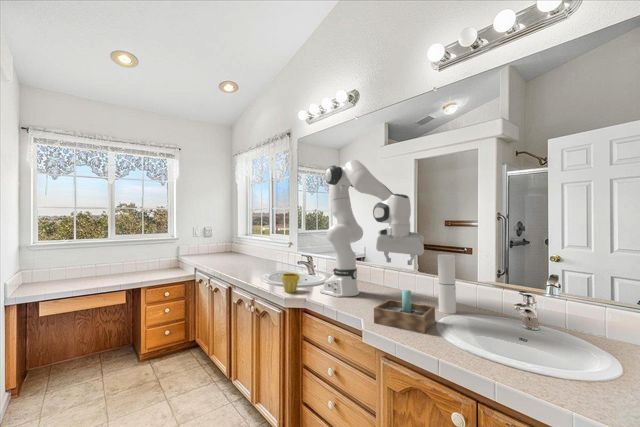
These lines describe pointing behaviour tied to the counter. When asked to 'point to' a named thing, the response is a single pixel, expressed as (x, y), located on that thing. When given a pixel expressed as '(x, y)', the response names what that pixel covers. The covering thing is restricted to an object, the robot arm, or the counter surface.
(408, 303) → the peg
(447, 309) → the cylindrical container
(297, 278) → the plant pot
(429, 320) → the box
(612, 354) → the counter surface
